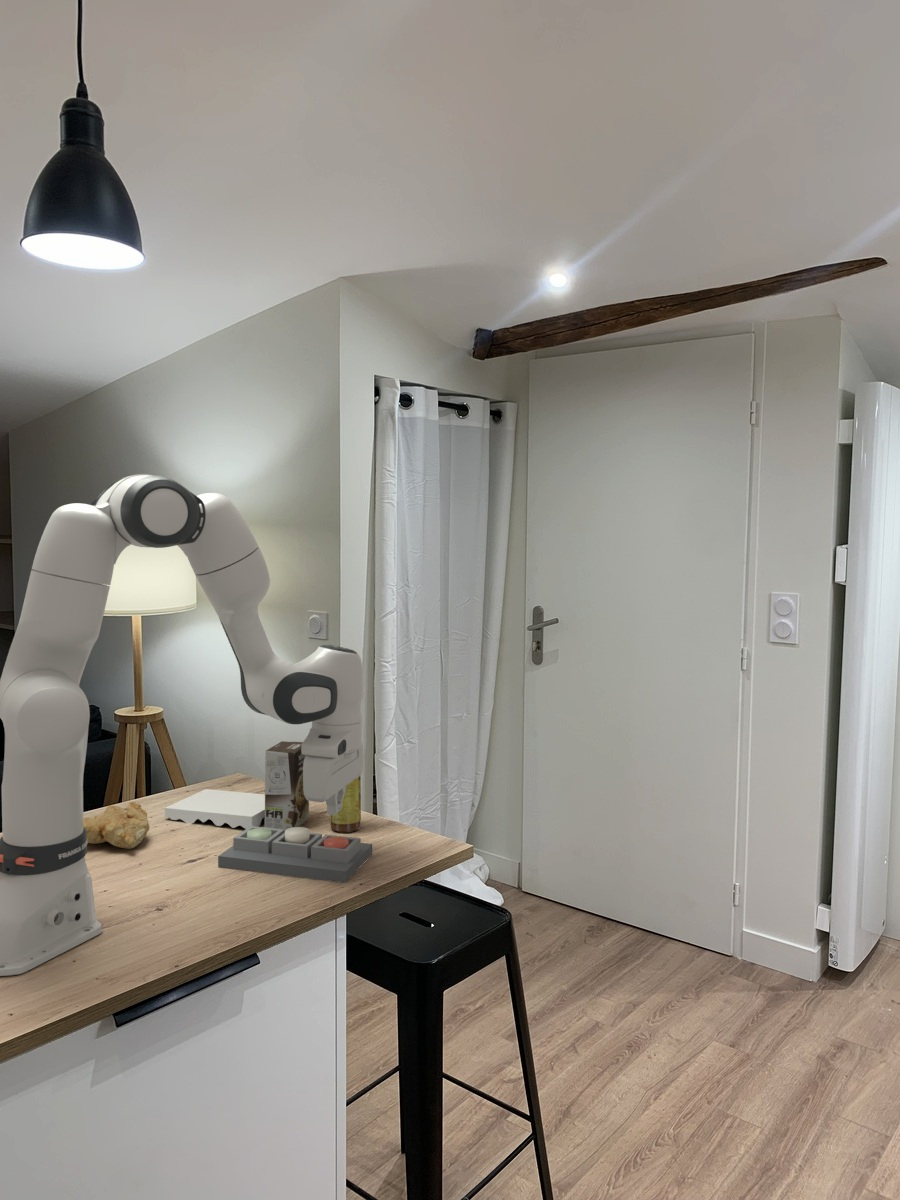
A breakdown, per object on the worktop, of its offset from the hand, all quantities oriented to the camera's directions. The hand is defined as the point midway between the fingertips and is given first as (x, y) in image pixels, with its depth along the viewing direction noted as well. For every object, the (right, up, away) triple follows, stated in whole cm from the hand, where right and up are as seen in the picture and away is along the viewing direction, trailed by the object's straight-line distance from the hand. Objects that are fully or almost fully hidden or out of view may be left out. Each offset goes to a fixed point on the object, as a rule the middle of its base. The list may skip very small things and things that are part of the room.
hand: (334, 812), depth 164 cm
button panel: (-7, -9, +3) cm, 12 cm away
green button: (-14, -7, +4) cm, 17 cm away
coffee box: (-12, -8, +23) cm, 27 cm away
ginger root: (-43, -8, +10) cm, 45 cm away
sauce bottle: (-1, -8, +21) cm, 22 cm away
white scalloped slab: (-26, -8, +28) cm, 39 cm away
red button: (0, -7, +1) cm, 7 cm away
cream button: (-7, -6, +3) cm, 10 cm away
